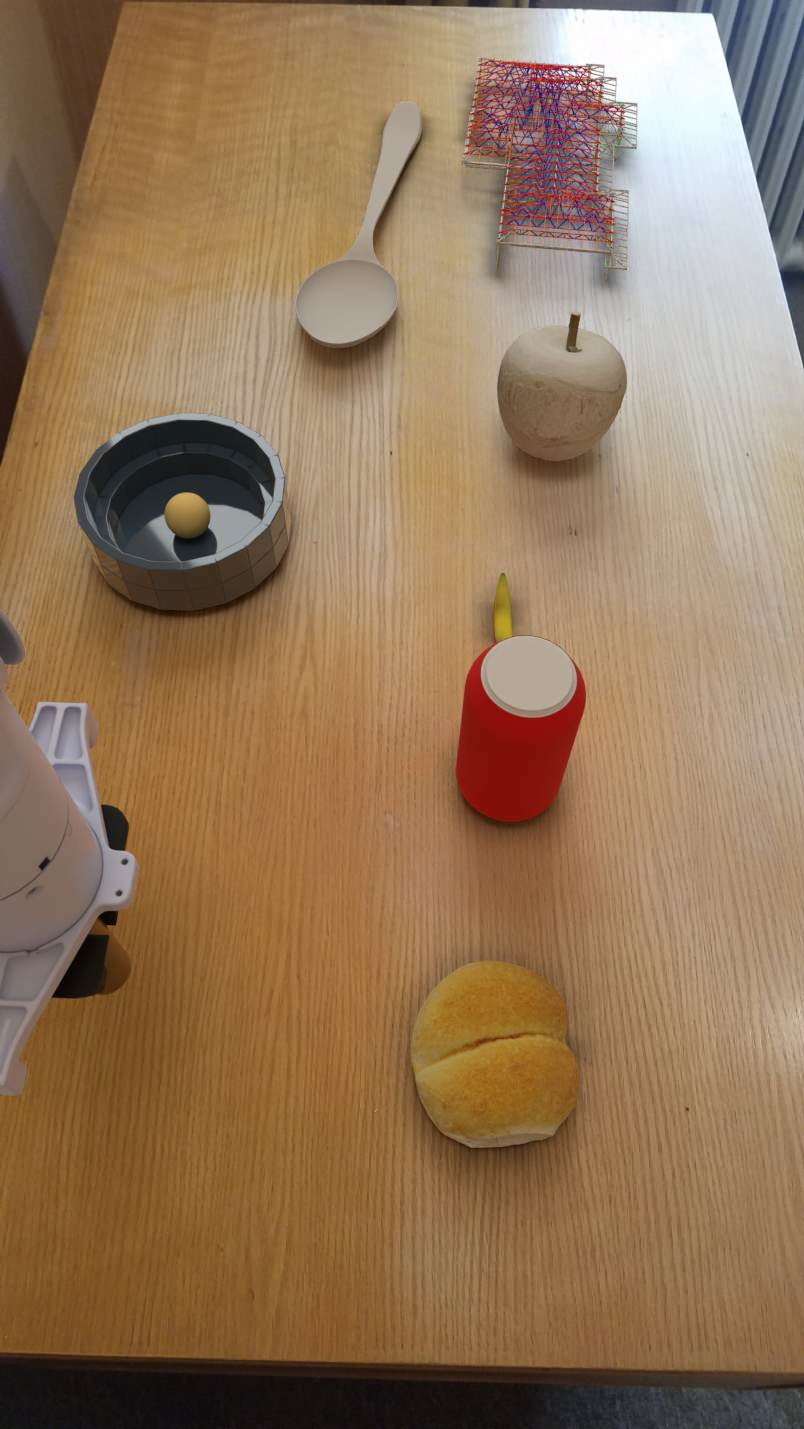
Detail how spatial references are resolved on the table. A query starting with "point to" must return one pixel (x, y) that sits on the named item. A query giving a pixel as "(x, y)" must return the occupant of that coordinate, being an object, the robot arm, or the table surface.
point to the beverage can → (518, 727)
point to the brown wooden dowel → (113, 959)
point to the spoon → (361, 255)
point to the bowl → (168, 461)
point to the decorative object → (560, 390)
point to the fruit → (502, 611)
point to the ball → (187, 515)
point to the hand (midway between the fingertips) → (88, 951)
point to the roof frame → (595, 165)
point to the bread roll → (494, 1056)
